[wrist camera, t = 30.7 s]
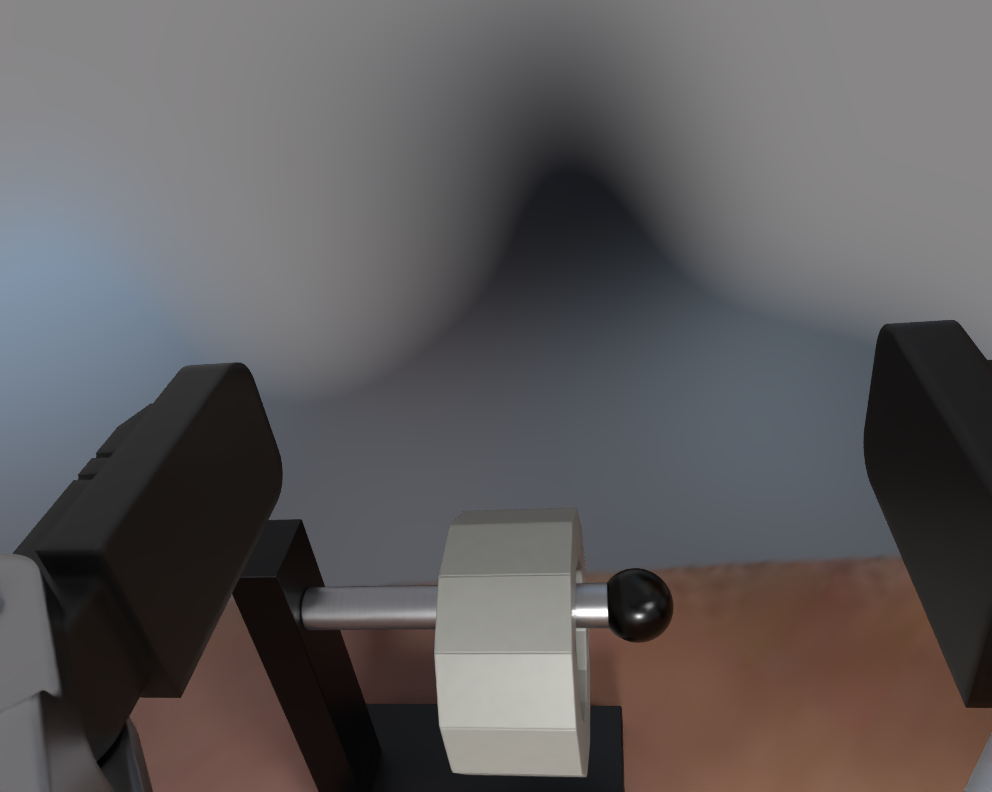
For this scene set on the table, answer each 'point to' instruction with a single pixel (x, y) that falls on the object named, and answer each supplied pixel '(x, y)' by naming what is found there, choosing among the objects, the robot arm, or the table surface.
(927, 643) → the table surface
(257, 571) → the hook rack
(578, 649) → the tape roll
